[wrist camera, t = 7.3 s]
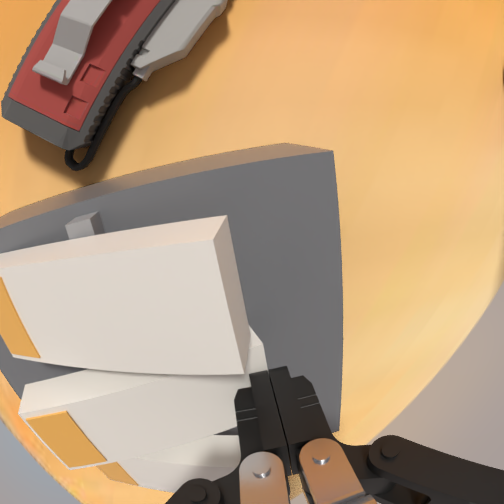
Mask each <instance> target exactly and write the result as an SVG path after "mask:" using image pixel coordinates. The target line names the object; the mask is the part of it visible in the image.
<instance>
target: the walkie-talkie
mask: <svg viewBox="0 0 504 504" xmlns="http://www.w3.org/2000/svg"><path fill="white" fill-rule="evenodd" d="M227 1H228V0H57V1H56V2H55V3H54V5H53V6H52V9H51V11H50V12H49V13H48V14H47V17H46V18H45V20H44V21H43V22H42V23H41V24H42V25H41V26H40V28H39V29H38V30H37V32H36V35H35V36H34V38H32V40H31V43H30V45H29V47H27V49H26V52H25V54H24V56H22V60H21V62H20V64H19V65H18V66H17V70H16V72H15V73H14V74H13V78H12V80H11V82H10V83H9V87H8V89H7V91H6V92H5V96H4V98H3V100H2V101H1V106H2V117H3V118H5V119H6V120H8V121H10V122H12V123H14V124H16V125H18V126H20V127H22V128H24V129H26V130H27V131H29V132H31V133H33V134H35V135H37V136H39V137H41V138H43V139H45V140H46V141H48V142H50V143H52V144H54V145H56V146H58V147H60V148H62V149H65V150H66V151H65V158H64V159H65V163H66V165H67V166H68V167H69V168H71V169H72V170H75V171H78V170H81V169H84V168H86V167H87V166H88V165H89V163H90V162H91V161H92V160H93V158H94V155H95V153H96V151H97V149H98V147H99V145H100V143H101V141H102V139H103V137H104V135H105V133H106V131H107V129H108V127H109V125H110V123H111V121H112V119H113V117H114V116H115V114H116V112H117V110H118V108H119V106H120V105H121V103H122V101H123V100H124V98H125V97H126V95H127V94H128V93H129V92H130V91H131V90H133V89H134V88H136V87H137V86H138V85H139V84H140V82H141V81H142V80H144V81H147V80H148V78H149V77H150V75H151V73H152V72H154V71H156V70H158V69H160V68H162V67H165V66H167V65H169V64H172V63H174V62H176V61H179V60H181V59H183V58H185V57H186V56H187V55H188V53H189V52H190V51H191V49H192V48H193V46H194V45H195V44H196V42H197V41H198V39H199V38H200V37H201V35H202V34H203V33H204V31H205V30H206V29H207V27H208V26H209V25H210V24H211V22H212V21H213V20H214V18H216V17H218V16H220V15H221V13H222V12H223V11H224V10H225V8H226V6H227ZM133 75H135V76H134V78H133V79H132V81H131V78H132V76H133ZM89 145H90V147H89V149H88V151H87V154H86V156H85V157H84V159H83V160H82V161H81V162H80V163H77V162H76V161H75V160H74V158H73V155H74V150H75V149H79V148H85V147H87V146H89Z"/></svg>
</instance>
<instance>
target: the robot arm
mask: <svg viewBox="0 0 504 504" xmlns="http://www.w3.org/2000/svg"><path fill="white" fill-rule="evenodd" d="M268 372H269V374H268ZM249 377H250V383H251V387H247V388H242V389H238V390H237V393H236V396H235V398H234V406H235V412H236V413H235V414H236V421H237V429H238V436H239V444H240V451H241V460H240V463H239V465H238V466H237V467H236V469H235V470H234V471H233V472H231V473H230V474H228V475H226V476H224V477H221V478H219V479H217V480H214V481H210V480H208V479H204V478H196V479H192V480H189V481H187V482H185V483H184V484H183V485H182V486H181V487H180V488H179V489H178V490H177V491H176V492H175V493H174V495H173V496H172V497H171V498H170V499H169V500H168V501H167V502H166V503H165V504H290V498H289V495H290V487H289V482H288V476H290V475H292V474H291V469H292V473H293V475H294V474H298V473H299V476H300V479H301V483H302V490H303V493H304V495H305V498H306V500H307V503H308V504H377V502H379V503H381V504H504V470H500V469H496V468H492V467H488V466H485V465H481V464H478V463H475V462H471V461H468V460H465V459H461V458H458V457H455V456H452V455H449V454H446V453H443V452H440V451H437V450H434V449H431V448H428V447H426V446H423V445H420V444H417V443H415V442H412V441H409V440H407V439H404V438H402V437H399V436H395V435H387V436H383V437H381V438H379V439H377V440H376V441H374V443H373V444H372V445H360V446H351V445H346V444H343V443H341V442H339V441H338V440H337V439H336V438H335V437H334V436H333V434H332V432H331V430H330V427H329V425H328V422H327V420H326V417H325V415H324V412H323V410H322V407H321V405H320V403H319V400H318V397H317V396H316V392H315V390H314V387H313V385H312V383H311V382H310V381H309V380H308V379H307V378H306V377H304V376H303V375H302V376H298V377H293V378H291V376H290V373H289V370H288V368H287V366H282V367H278V368H273V369H269V370H268V371H267V370H264V371H260V372H255V373H250V374H249ZM290 466H291V468H290Z"/></svg>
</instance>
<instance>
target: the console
mask: <svg viewBox="0 0 504 504" xmlns="http://www.w3.org/2000/svg"><path fill="white" fill-rule="evenodd" d="M224 215H227V218H228V223H229V228H230V234H231V239H232V244H233V249H234V254H235V259H236V265H237V270H238V275H239V280H240V285H241V290H242V295H243V300H244V305H245V310H246V315H247V320H248V324H249V326H250V327H251V328H252V330H253V331H254V332H255V334H256V335H257V336H258V338H259V339H260V340H261V342H262V343H263V346H264V352H265V357H266V363H267V368H268V370H269V369H273V368H278V367H282V366H287V368H288V370H289V373H290V376H291V378H293V377H298V376H302V375H303V376H304V377H306V378H307V379H308V380H309V381H310V382H311V383H312V385H313V387H314V390H315V392H316V396H317V397H318V400H319V403H320V405H321V407H322V410H323V412H324V415H325V417H326V420H327V422H328V425H329V427H330V430H331V432H332V433H333V432H336V431H339V424H340V409H341V390H342V361H343V287H342V258H341V238H340V222H339V208H338V195H337V184H336V173H335V164H334V154H333V151H332V150H326V149H320V148H315V147H309V146H302V145H296V144H289V143H281V144H274V145H268V146H261V147H255V148H249V149H243V150H237V151H231V152H226V153H220V154H215V155H210V156H205V157H200V158H195V159H190V160H186V161H181V162H176V163H172V164H168V165H163V166H159V167H155V168H151V169H147V170H143V171H139V172H135V173H131V174H127V175H123V176H120V177H116V178H112V179H109V180H105V181H102V182H98V183H95V184H91V185H88V186H85V187H81V188H78V189H75V190H72V191H69V192H65V193H62V194H59V195H56V196H53V197H50V198H47V199H44V200H42V201H39V202H36V203H33V204H30V205H27V206H25V207H22V208H19V209H17V210H14V211H11V212H9V213H7V214H5V215H3V216H1V217H0V254H1V253H5V252H10V251H15V250H20V249H25V248H30V247H35V246H40V245H45V244H50V243H55V242H61V241H66V240H72V239H77V238H83V237H88V236H94V235H100V234H105V233H111V232H117V231H123V230H129V229H135V228H142V227H148V226H154V225H161V224H167V223H174V222H181V221H188V220H195V219H202V218H209V217H216V216H224ZM86 369H87V368H79V367H71V366H63V365H56V364H49V363H43V362H37V361H31V360H25V359H20V358H14V357H13V356H12V354H11V352H10V351H9V349H8V347H7V345H6V344H5V342H4V340H3V338H2V336H1V335H0V370H1V372H2V373H3V375H4V376H5V378H6V379H7V381H8V382H9V384H10V385H11V386H12V388H13V389H14V391H15V392H16V394H17V395H18V396H19V398H20V399H22V395H23V391H24V387H25V385H26V384H30V383H34V382H39V381H43V380H47V379H51V378H55V377H59V376H63V375H67V374H71V373H75V372H79V371H82V370H86ZM268 373H269V372H268ZM214 435H238V429H237V426H236V427H234V428H231V429H228V430H226V431H223V432H220V433H217V434H214Z"/></svg>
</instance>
